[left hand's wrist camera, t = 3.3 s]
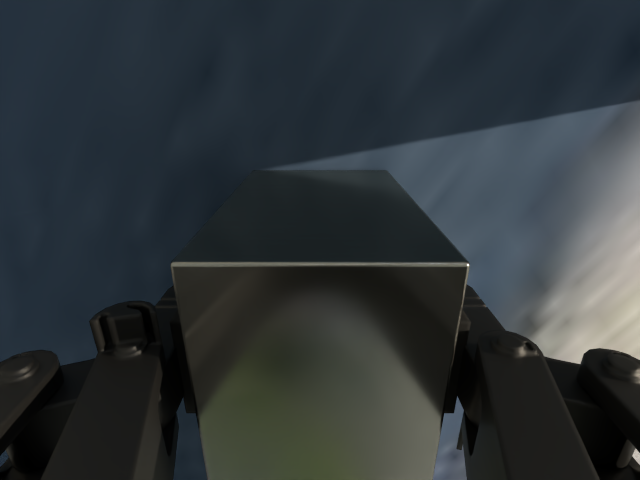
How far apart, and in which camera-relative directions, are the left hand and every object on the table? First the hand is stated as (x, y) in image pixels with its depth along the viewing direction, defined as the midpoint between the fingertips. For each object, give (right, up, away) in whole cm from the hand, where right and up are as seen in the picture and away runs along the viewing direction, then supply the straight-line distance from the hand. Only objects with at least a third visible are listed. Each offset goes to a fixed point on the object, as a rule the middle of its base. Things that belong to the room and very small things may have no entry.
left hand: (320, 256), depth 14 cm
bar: (0, -7, +4) cm, 8 cm away
